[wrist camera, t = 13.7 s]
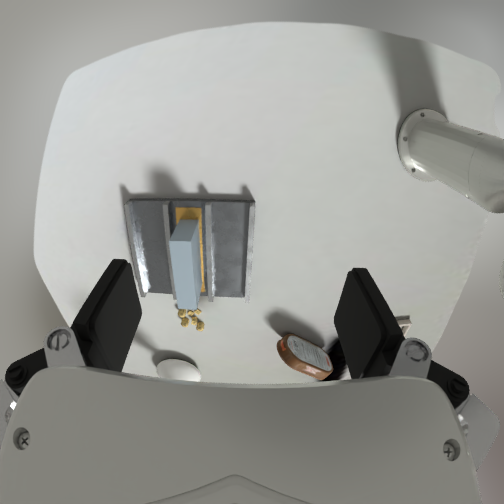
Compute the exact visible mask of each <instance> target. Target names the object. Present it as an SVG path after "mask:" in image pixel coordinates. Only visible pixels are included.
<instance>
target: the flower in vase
mask: <svg viewBox="0 0 504 504" xmlns="http://www.w3.org/2000/svg"><path fill="white" fill-rule="evenodd" d="M156 369H157V374H158V376H159V377H160V378H166V379H175V380H185V381H197V382H199V381H200V379H201V373H200V372H199V370H198V369H197V368H196V367H195V366H194V365H192V364H190V363H188V362H186V361H182V360H178V359H167V360H164V361H162V362H160V363H159V364H158V365H157V368H156Z"/></svg>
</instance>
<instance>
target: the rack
mask: <svg viewBox="0 0 504 504" xmlns="http://www.w3.org/2000/svg"><path fill="white" fill-rule="evenodd" d="M124 209H125V216H126V223H127V229H128V235H129V241H130V247H131V252H132V257H133V263H134V268H135V272H136V277H137V282H138V286H139V290H140V295H141V297H145V296H146V294H147V292H151V293H165V294H173V298H174V299H175V300H177V298H176V291H175V284H174V277H173V270H172V262H171V254H170V246H169V240H170V238H171V236H172V234H173V232H174V230H175V228H176V226H177V224H178V222H179V220H180V219H192V220H199V234H200V253H201V269H202V287H201V292H200V296H208V300H209V302H213V298H214V296H218V297H244V298H245V303H249V298H250V282H251V267H252V252H253V236H254V221H255V201H244V200H214V199H130V200H129V201H128V202H127V203H126V204H124Z"/></svg>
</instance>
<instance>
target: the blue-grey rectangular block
mask: <svg viewBox="0 0 504 504" xmlns="http://www.w3.org/2000/svg"><path fill="white" fill-rule="evenodd" d="M169 246H170V254H171V262H172V270H173V277H174V284H175V291H176V298H177V304H178V309H192V310H197V307H198V302H199V297H200V292H201V287H202V269H201V253H200V234H199V220H192V219H180V220H179V222H178V224H177V226H176V228H175V230H174V232H173V234H172V236H171V238H170V240H169Z"/></svg>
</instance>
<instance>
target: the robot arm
mask: <svg viewBox="0 0 504 504" xmlns="http://www.w3.org/2000/svg"><path fill="white" fill-rule="evenodd" d="M403 137H404V139H403ZM398 149H399V155H400V159H401V161H402V164H403V166H404V167H405V169H406V170H407V171H408V172H409V173H410V174H411V175H412V176H413V177H415V178H417V179H419V180H421V181H425V182H431V181H435V180H438V181H440V182H442V183H444V184H445V185H447V186H449V187H450V188H452V189H454V190H455V191H457V192H459V193H460V194H462V195H463V196H465V197H467V198H468V199H470V200H471V201H473V202H474V203H476V204H477V205H479V206H480V207H482V208H483V209H485V210H487V211H489V212H492V213H504V139H501V138H499V137H496V136H492V135H489V134H486V133H483V132H480V131H477V130H473V129H470V128H467V127H463V126H459V125H455V124H452V123H449V122H448V120H447V119H446V118H445V117H444V116H443V115H442V114H440V113H439V112H437V111H434V110H430V109H419V110H417V111H414V112H413V113H411V114H410V115H409V116H408V117H407V118H406V119H405V121H404V123H403V124H402V127H401V129H400V133H399V138H398ZM499 287H500V292H501V294H502V296H503V298H504V261H503V265H502V268H501V271H500V277H499ZM141 316H142V309H141V305H140V301H139V298H138V293H137V289H136V285H135V281H134V276H133V272H132V267H131V264H130V263H128V262H127V260H125V259H113V260H112V261H111V263H110V264H109V266H108V267H107V269H106V270H105V272H104V273H103V275H102V276H101V278H100V279H99V281H98V282H97V284H96V285H95V287H94V288H93V290H92V292H91V293H90V295H89V296H88V298H87V300H86V301H85V303H84V304H83V306H82V308H81V309H80V311H79V313H78V314H77V316H76V318H75V320H74V321H73V324H72V326H71V327H70V328H69V327H66V326H60V327H56V328H54V329H52V330H51V331H50V332H49V333H48V334H47V335H46V337H45V339H44V348H42V349H40V350H38V351H36V352H34V353H32V354H30V355H28V356H26V357H24V358H22V359H20V360H17V361H15V362H14V363H12V364H11V365H10V366H9V367H8V369H7V371H6V374H5V381H4V382H3V380H0V504H482V501H481V495H480V489H479V484H478V479H477V475H476V471H477V470H478V468H479V466H480V465H481V463H482V462H483V460H484V458H485V456H486V454H487V453H488V451H489V449H490V447H491V446H492V444H493V442H494V440H495V438H496V436H497V434H498V432H499V429H500V422H499V419H498V417H497V416H496V415H495V414H494V413H493V412H492V411H491V410H490V409H489V408H488V407H487V406H486V405H485V404H484V403H483V402H482V401H481V400H480V399H478V397H476V396H475V395H474V394H472V395H470V394H469V385H468V383H467V381H466V380H465V379H464V378H463V377H461V376H460V375H458V374H456V373H454V372H453V371H451V370H449V369H447V368H445V367H443V366H441V365H440V364H438V363H436V362H434V361H432V360H431V358H432V353H431V350H430V348H429V346H428V345H427V344H426V343H425V342H423V341H422V340H420V339H417V338H407V339H405V337H404V335H403V332H402V330H401V328H400V326H399V324H398V322H397V321H396V319H395V317H394V315H393V313H392V311H391V310H390V308H389V306H388V304H387V302H386V301H385V299H384V297H383V295H382V294H381V292H380V290H379V289H378V287H377V285H376V283H375V282H374V280H373V278H372V277H371V275H370V273H369V272H368V270H367V269H366V268H353V269H352V271H349V272H348V274H347V278H346V281H345V284H344V288H343V291H342V294H341V297H340V301H339V304H338V307H337V310H336V313H335V316H334V324H335V327H336V330H337V333H338V337H339V340H340V343H341V346H342V349H343V352H344V355H345V359H346V362H347V365H348V368H349V372H350V375H351V378H352V379H350V380H339V381H327V382H313V383H293V384H231V383H211V382H197V381H185V380H175V379H166V378H158V377H150V376H143V375H136V374H130V373H123V372H122V369H123V366H124V363H125V360H126V357H127V354H128V352H129V349H130V346H131V343H132V340H133V338H134V335H135V332H136V330H137V327H138V324H139V322H140V319H141Z"/></svg>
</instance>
